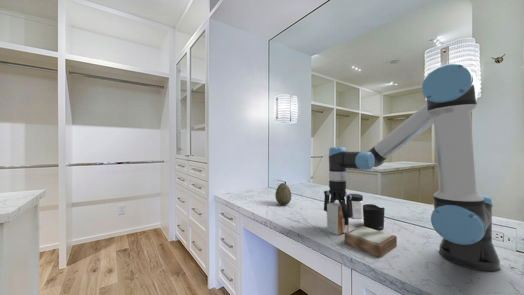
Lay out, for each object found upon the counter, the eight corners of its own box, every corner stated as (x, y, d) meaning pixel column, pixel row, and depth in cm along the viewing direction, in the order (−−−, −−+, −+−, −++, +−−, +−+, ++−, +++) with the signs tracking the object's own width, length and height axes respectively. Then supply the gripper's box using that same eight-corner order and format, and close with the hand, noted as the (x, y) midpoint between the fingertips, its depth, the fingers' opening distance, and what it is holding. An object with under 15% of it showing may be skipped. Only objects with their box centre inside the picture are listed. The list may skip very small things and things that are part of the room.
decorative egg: (276, 202, 149) (275, 181, 149) (291, 203, 148) (291, 181, 148) (274, 207, 139) (274, 184, 139) (291, 207, 137) (291, 184, 137)
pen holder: (364, 229, 101) (363, 208, 101) (362, 222, 110) (361, 203, 109) (386, 232, 97) (386, 210, 97) (382, 224, 106) (382, 205, 106)
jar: (349, 218, 116) (349, 196, 116) (344, 213, 124) (344, 193, 124) (366, 218, 115) (366, 196, 115) (360, 214, 123) (360, 193, 123)
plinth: (396, 246, 84) (396, 235, 84) (380, 257, 75) (380, 245, 75) (362, 234, 95) (361, 225, 95) (344, 243, 86) (344, 233, 86)
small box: (338, 235, 94) (337, 206, 94) (326, 230, 99) (326, 203, 99) (349, 231, 99) (348, 203, 99) (337, 227, 104) (337, 200, 104)
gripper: (361, 181, 93) (362, 233, 94) (324, 176, 109) (325, 221, 109) (352, 183, 89) (353, 238, 89) (315, 178, 104) (315, 224, 104)
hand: (337, 228), depth 99 cm, fingers closed on small box, 6 cm apart
